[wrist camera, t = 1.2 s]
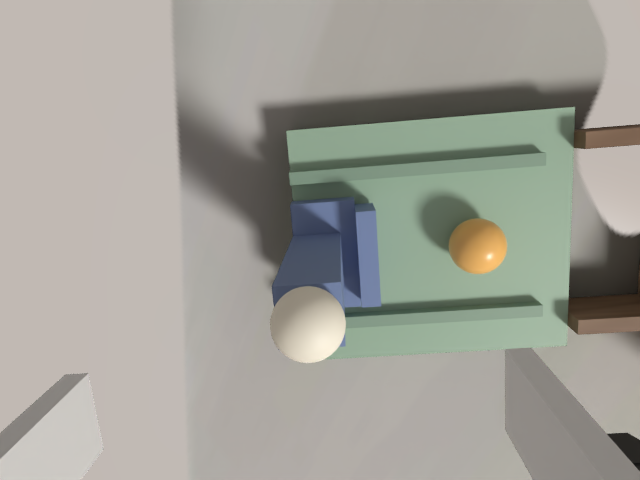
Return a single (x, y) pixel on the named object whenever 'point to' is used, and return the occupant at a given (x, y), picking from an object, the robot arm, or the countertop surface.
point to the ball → (477, 246)
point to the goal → (636, 308)
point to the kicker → (324, 276)
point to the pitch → (452, 226)
